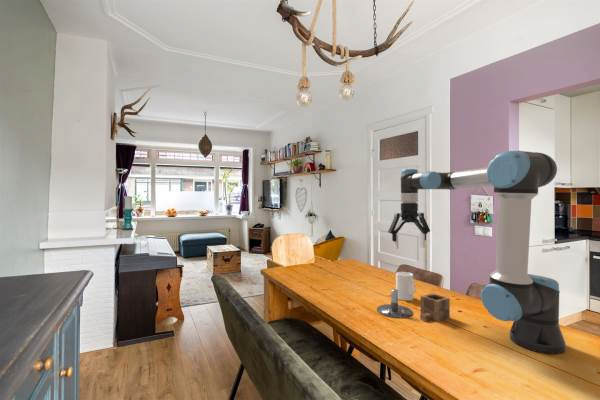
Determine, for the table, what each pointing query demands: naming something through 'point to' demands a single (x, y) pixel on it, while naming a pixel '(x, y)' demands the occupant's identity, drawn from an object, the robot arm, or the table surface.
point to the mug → (405, 285)
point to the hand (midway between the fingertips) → (409, 247)
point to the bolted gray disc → (394, 307)
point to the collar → (434, 307)
